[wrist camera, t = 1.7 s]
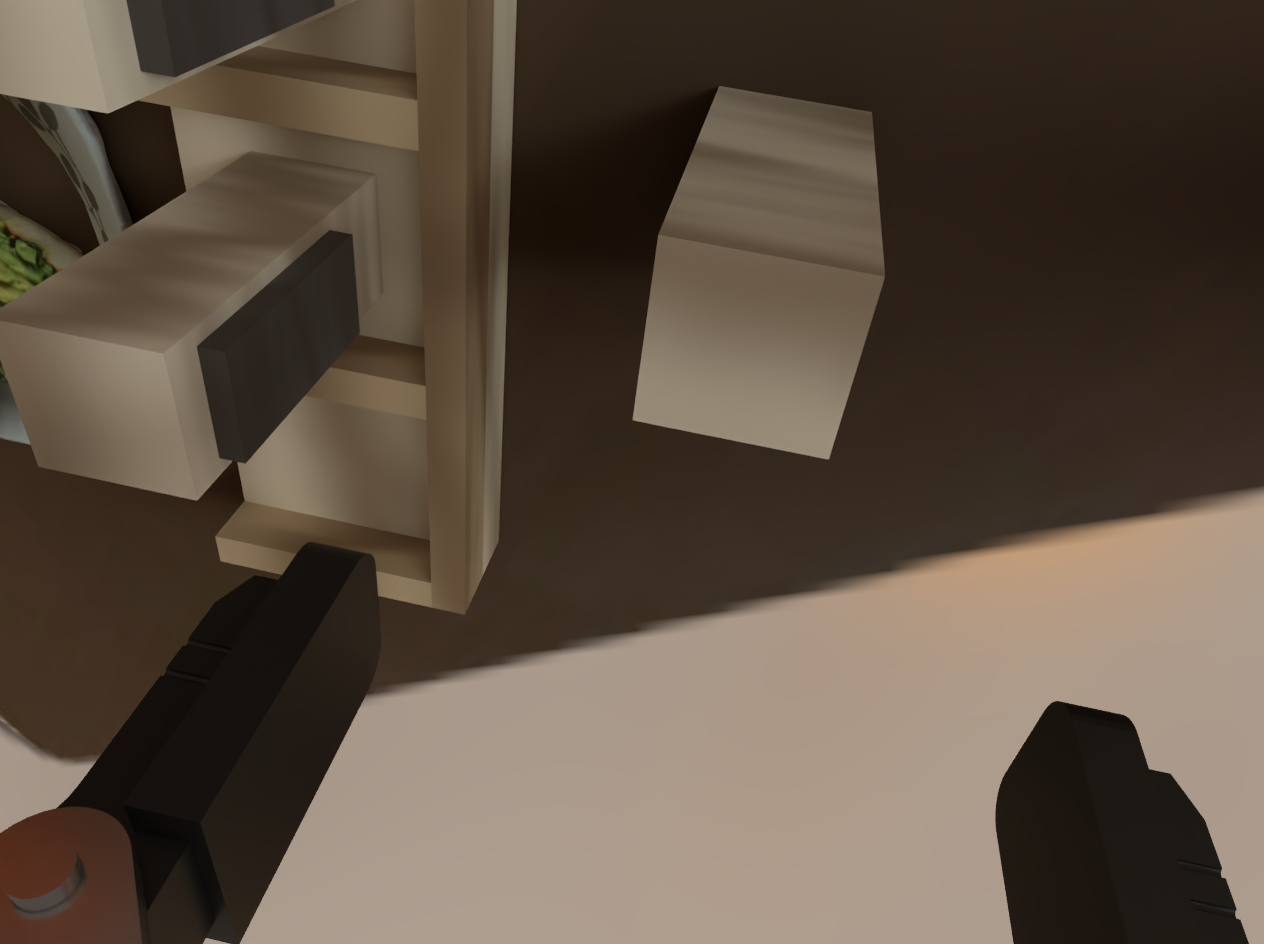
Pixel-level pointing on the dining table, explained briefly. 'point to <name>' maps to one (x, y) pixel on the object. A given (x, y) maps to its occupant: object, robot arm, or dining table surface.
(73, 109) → the salad plate
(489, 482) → the wooden block rack
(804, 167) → the beige cuboid
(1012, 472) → the dining table surface
